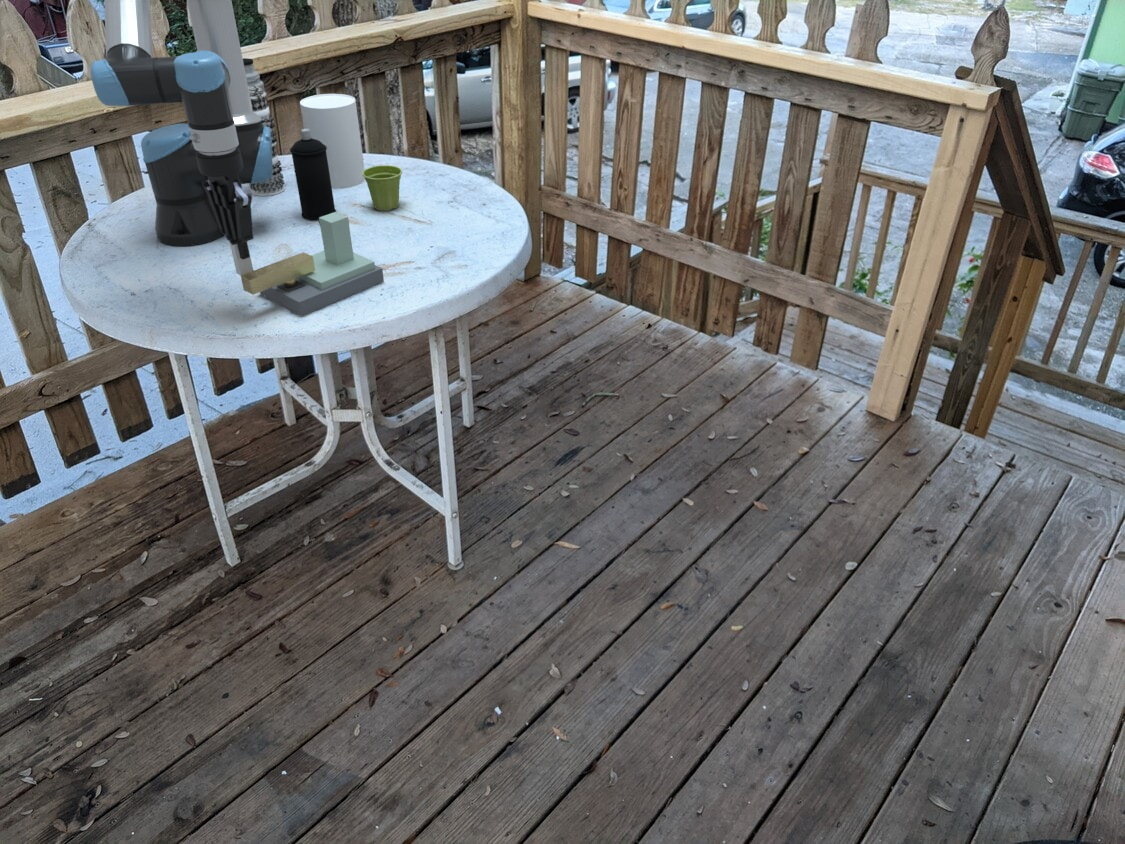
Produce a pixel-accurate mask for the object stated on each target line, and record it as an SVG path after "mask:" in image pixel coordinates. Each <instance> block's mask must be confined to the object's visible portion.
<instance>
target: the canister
mask: <svg viewBox="0 0 1125 844" xmlns="http://www.w3.org/2000/svg"><path fill="white" fill-rule="evenodd" d="M299 105H300V106H299V107H300V111H301V119H302V124H303V129H309V130H310V135H311V138H312V139H316V140H319V141H320V142H321V143H323V144H324V145H325V146H326V147H327V149H326V154H327V160H328V167H329V173H330V180H331V186H332V188H334V190H337V188H339V189H346V188H347V187H348V188H352V187H356V186H358V185H360V184H363V182H366V180H365V177H364V176H363V175H362V172H363V171H364V170H365V169H366V168H365V163H364V154H363V147H362V140H361V132H360V125H359V117H358V108H357V103H356V98H355V97H354V96H352V95H350V94H343V93H323V94H321V93H320V94H315V95H311V96H307V97H305V98H302V99H301V100H300V101H299Z"/></svg>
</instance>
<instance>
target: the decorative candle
mask: <svg viewBox="0 0 1125 844" xmlns="http://www.w3.org/2000/svg"><path fill="white" fill-rule="evenodd" d="M248 89H249V94H250V100H251V105H252V110H253V112H254V113H256V114H257V115H258V116H259V117H261V119H262V125H263V127H264V126H266V127H269V128H270V130H271V145H272V177H271V179H270V180H268V181H266V182H259V183H253V184H251V183H250V184H248V186H249V188H250V192H251V195H254V196H259V197H271V196H275V195H279V194H281V193H283V192H285V190H286V187H285V186H286V185H285V180H284V174H283V173H281V172H283V169H282V166H281V164H282V163H281V160H280V159H279V155H278V153H277V147H276V145H277V141H278V139H277V137H275V136H276V133H277V132H276V131H274V130H273V129H274V128H275V126H276V125H275V123H274V122H273V121H274V119H275V118H274V117H273V116H271V115H270V113H271V112H270V106H269V105H268V100H267V95H268V93H267V91H265V92H264V91H263V90H262V89H261V88H260V87H258V86H248ZM270 122H271V123H270ZM271 128H272V129H271Z"/></svg>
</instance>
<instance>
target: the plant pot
mask: <svg viewBox="0 0 1125 844" xmlns="http://www.w3.org/2000/svg"><path fill="white" fill-rule="evenodd" d="M364 169H365V170H364V171H363V172H362V175H363V176H364V177H365V183H366V184H367V187H368V190H369V194H370V198H371V201H372V206H373V208H375V209H377V210H378V211H386V210H388V211H390V210H392V209H397V208H399V205H400V186H401V185H400V183H401V182H400V181H401V175H402V174H403V169H402V168H401V167H399V166H396V165H387V164H385V165H384V164H383V165H382V164H381V165H375V166H370V167H368V168H364Z"/></svg>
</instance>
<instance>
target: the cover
mask: <svg viewBox="0 0 1125 844" xmlns="http://www.w3.org/2000/svg"><path fill="white" fill-rule="evenodd" d="M318 221H319V227H320V233H321V238H322V239H321V240H322V245H323V251H322V250H321V251H319V252H316V253H314V254H312V255H311V256H313V260H314V266H315V271H313V272H310V273H308V274H305V275H303V276H300V277H297V278H299V279H301V280H303V281H305V282H307V283H309V284H311V285H313V286H315V287H317V288H319V289H321V290H324V289H326V288H329V287H331V286H333V285H336V284H338V283H341V282H343V281H346V280H348V279H351V278H353V277H356V276H358V275H360V274H363V273H365V272H368V271H370V270H373V269H375V265H376V264H375V261H374V260H372V259H369V258H367V257H366V256H362V255H361V254H358V253H356V252H355V251H354V249H353V243H352V235H351V230H350V222H349V217H348V216H346V215H344V214H341V213H339V212H334V213H331V214H328V215H325V216H322V217H319V220H318Z"/></svg>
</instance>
